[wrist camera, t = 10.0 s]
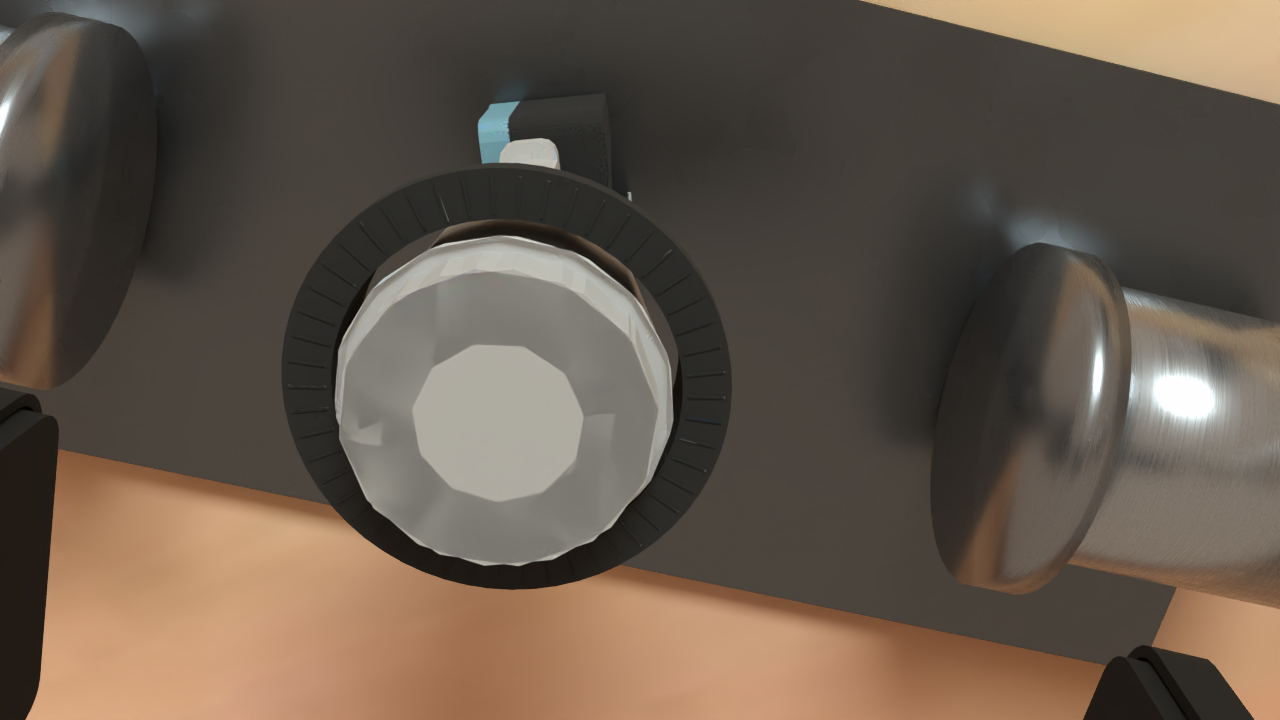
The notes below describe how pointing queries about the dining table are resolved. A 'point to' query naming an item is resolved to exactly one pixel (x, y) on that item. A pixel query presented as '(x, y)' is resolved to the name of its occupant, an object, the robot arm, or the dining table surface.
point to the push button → (509, 363)
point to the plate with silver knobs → (711, 275)
